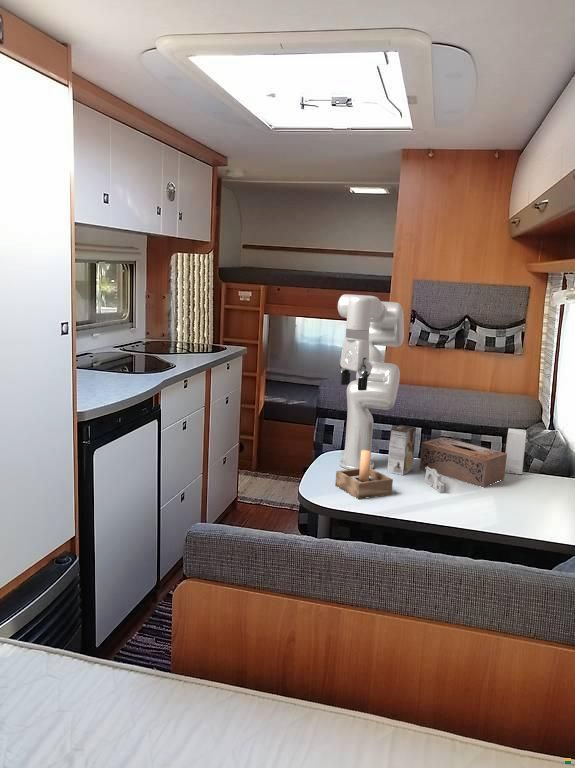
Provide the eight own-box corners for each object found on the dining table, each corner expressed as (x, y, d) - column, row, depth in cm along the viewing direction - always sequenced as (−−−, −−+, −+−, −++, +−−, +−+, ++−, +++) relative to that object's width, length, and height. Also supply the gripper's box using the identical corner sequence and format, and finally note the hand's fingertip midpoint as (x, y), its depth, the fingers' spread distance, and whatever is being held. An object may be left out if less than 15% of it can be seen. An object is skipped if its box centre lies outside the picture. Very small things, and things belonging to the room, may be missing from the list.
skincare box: (521, 475, 224) (527, 434, 221) (502, 472, 226) (507, 431, 224) (521, 469, 232) (526, 429, 229) (503, 466, 234) (508, 427, 231)
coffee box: (396, 466, 227) (400, 423, 224) (412, 469, 223) (416, 427, 221) (386, 472, 219) (390, 428, 216) (403, 475, 216) (407, 431, 213)
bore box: (335, 485, 201) (336, 471, 200) (367, 481, 207) (368, 467, 206) (357, 499, 190) (359, 483, 189) (391, 494, 196) (392, 479, 195)
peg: (356, 485, 199) (359, 450, 197) (364, 484, 201) (367, 449, 198) (362, 489, 196) (365, 453, 194) (370, 488, 198) (373, 452, 196)
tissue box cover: (503, 480, 218) (507, 453, 216) (483, 488, 208) (486, 460, 206) (441, 462, 236) (443, 437, 235) (419, 468, 226) (422, 442, 225)
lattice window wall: (444, 493, 200) (446, 476, 199) (439, 493, 200) (441, 476, 199) (428, 481, 212) (429, 464, 211) (423, 481, 211) (425, 464, 210)
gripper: (333, 332, 203) (329, 383, 206) (363, 338, 188) (359, 392, 191) (351, 332, 206) (348, 382, 209) (383, 338, 191) (378, 392, 194)
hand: (353, 387), depth 200 cm, fingers open, 9 cm apart
